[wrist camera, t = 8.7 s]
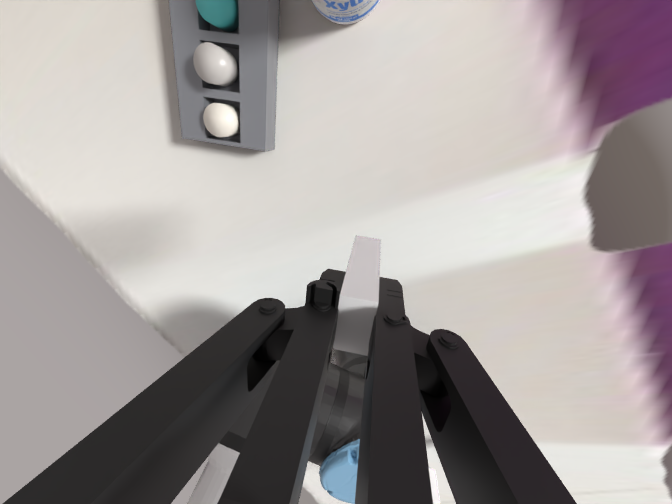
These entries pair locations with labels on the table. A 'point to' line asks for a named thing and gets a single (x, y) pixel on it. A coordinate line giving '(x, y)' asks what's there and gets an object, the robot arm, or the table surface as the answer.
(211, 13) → the teal button
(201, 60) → the grey button
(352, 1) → the supplement tub
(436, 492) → the medicine bottle
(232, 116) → the ivory button
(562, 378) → the table surface
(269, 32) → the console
